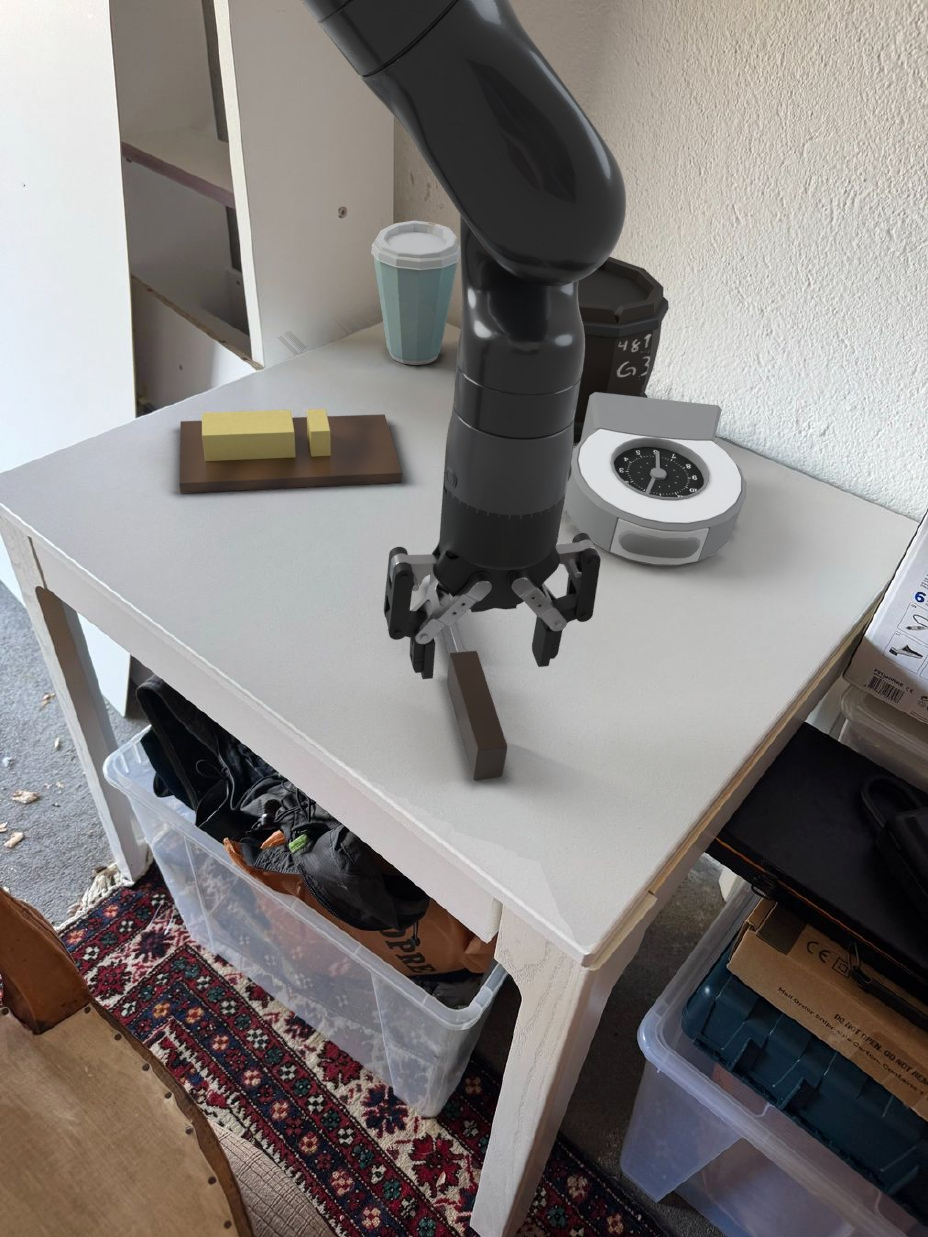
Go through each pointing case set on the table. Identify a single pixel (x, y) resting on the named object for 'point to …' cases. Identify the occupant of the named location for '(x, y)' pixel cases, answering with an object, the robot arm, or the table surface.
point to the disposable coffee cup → (415, 287)
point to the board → (296, 459)
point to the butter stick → (248, 435)
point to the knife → (474, 708)
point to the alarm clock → (653, 480)
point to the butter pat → (318, 432)
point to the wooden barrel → (618, 332)
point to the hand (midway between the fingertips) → (482, 664)
